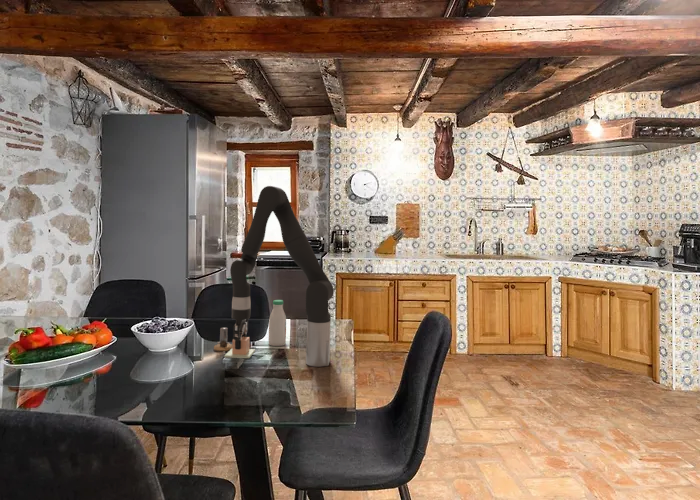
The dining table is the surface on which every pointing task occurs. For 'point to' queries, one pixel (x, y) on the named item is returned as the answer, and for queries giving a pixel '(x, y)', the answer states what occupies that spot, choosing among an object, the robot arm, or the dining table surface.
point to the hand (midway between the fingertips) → (240, 346)
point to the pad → (240, 354)
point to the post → (223, 342)
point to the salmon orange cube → (242, 346)
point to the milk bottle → (277, 324)
